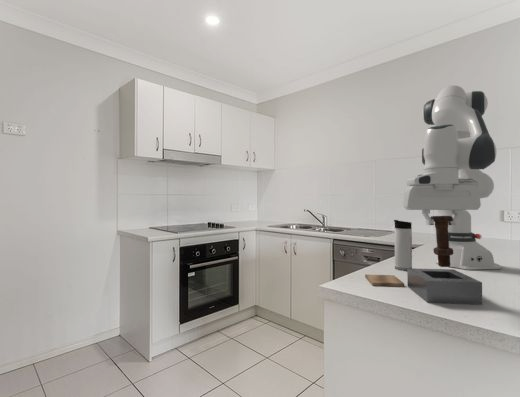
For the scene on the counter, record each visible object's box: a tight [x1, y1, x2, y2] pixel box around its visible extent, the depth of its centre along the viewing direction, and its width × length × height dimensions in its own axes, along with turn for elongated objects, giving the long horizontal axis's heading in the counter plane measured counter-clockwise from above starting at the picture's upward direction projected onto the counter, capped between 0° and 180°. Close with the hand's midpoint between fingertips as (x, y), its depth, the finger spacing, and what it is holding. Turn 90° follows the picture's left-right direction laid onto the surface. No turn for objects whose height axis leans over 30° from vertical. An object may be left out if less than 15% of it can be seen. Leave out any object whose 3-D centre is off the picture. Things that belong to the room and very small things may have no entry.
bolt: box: [430, 215, 454, 268], centre depth 85 cm, size 6×5×15 cm
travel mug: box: [393, 219, 413, 272], centre depth 115 cm, size 6×7×20 cm
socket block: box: [406, 267, 483, 305], centre depth 85 cm, size 14×14×6 cm
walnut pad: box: [364, 274, 405, 288], centre depth 98 cm, size 10×10×1 cm
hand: (440, 225), depth 85 cm, fingers closed on bolt, 5 cm apart
